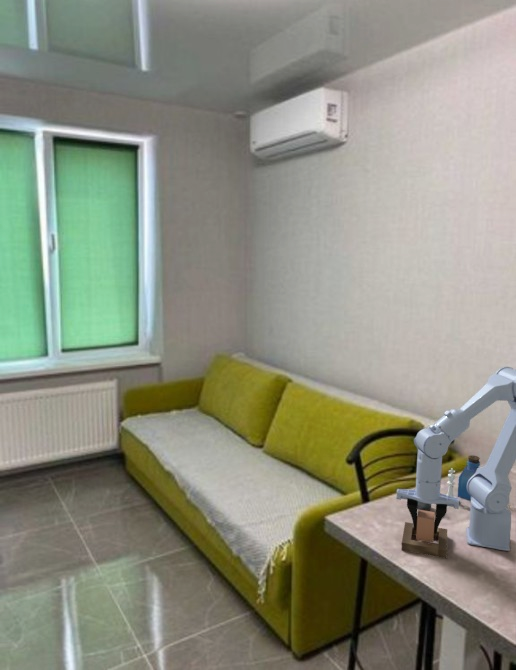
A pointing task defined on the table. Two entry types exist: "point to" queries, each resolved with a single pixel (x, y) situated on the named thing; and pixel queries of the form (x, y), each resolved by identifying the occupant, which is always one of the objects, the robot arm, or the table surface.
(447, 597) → the table surface
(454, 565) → the table surface
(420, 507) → the metal cylinder
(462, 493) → the perfume bottle
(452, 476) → the chess piece
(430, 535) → the terracotta block
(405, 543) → the walnut collar
